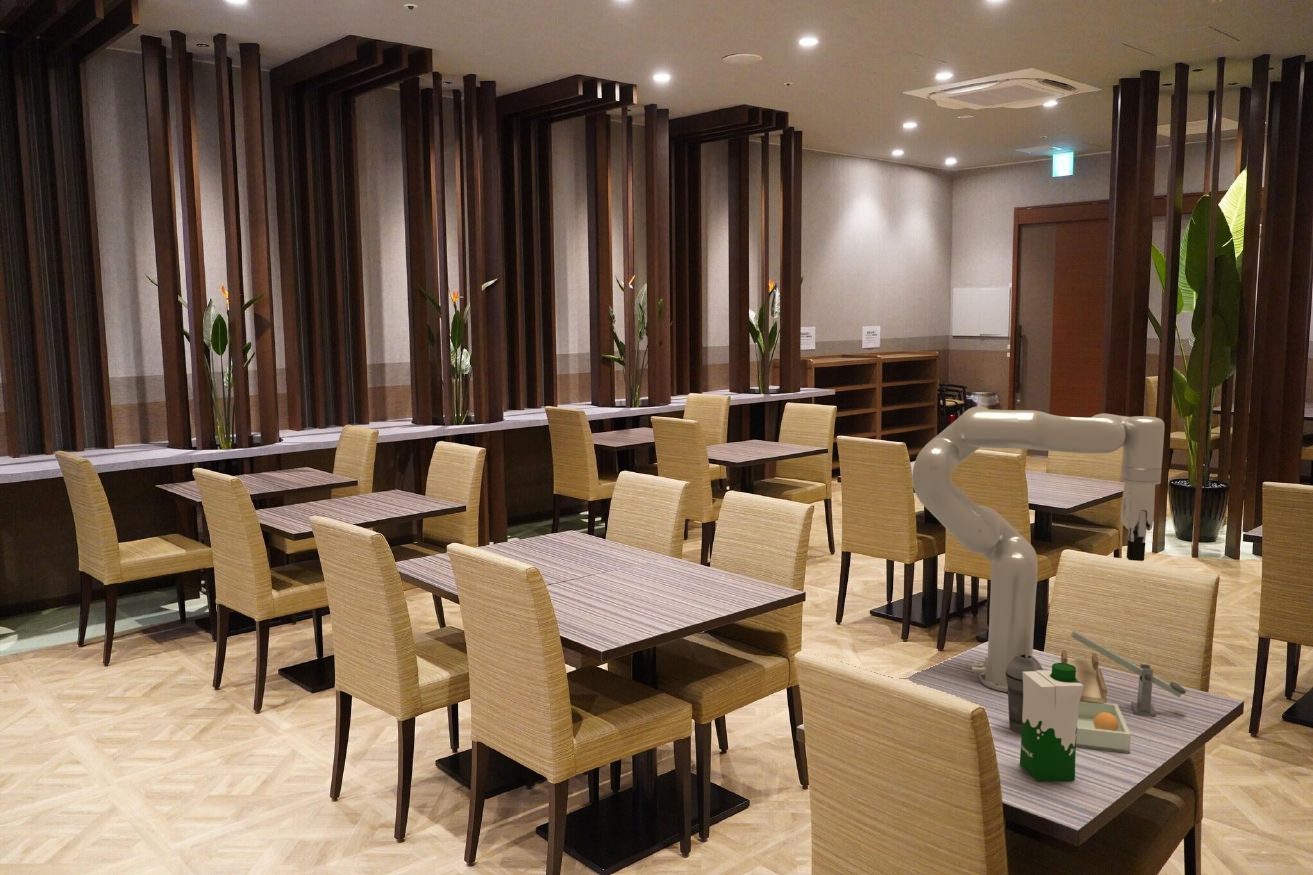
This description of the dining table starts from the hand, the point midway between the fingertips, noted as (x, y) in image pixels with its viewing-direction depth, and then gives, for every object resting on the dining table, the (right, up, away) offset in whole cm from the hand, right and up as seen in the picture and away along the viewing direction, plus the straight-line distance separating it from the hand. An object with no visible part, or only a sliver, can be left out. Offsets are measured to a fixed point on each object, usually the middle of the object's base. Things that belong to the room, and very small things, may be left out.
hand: (1135, 559), depth 210 cm
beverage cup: (-29, -33, -12) cm, 46 cm away
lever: (-3, -22, -3) cm, 23 cm away
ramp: (-12, -31, -1) cm, 34 cm away
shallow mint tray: (-16, -33, -14) cm, 39 cm away
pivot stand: (+1, -32, -2) cm, 32 cm away
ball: (-14, -31, -16) cm, 37 cm away
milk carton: (-31, -35, -30) cm, 56 cm away
